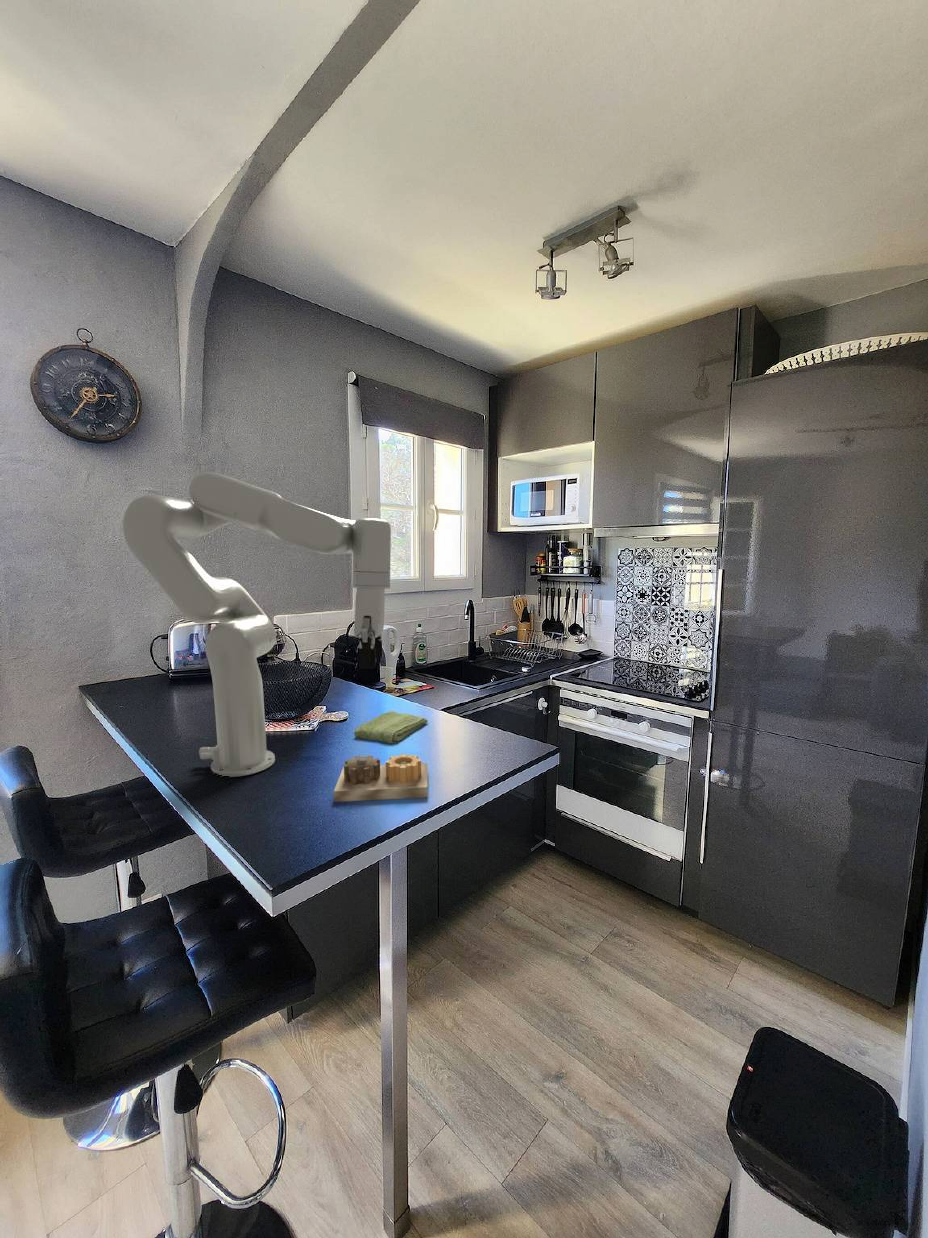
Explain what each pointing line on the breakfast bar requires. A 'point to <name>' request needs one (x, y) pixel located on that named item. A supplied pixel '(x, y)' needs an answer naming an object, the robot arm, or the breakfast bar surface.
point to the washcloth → (390, 727)
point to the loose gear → (403, 768)
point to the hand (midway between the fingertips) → (370, 663)
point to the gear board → (376, 782)
